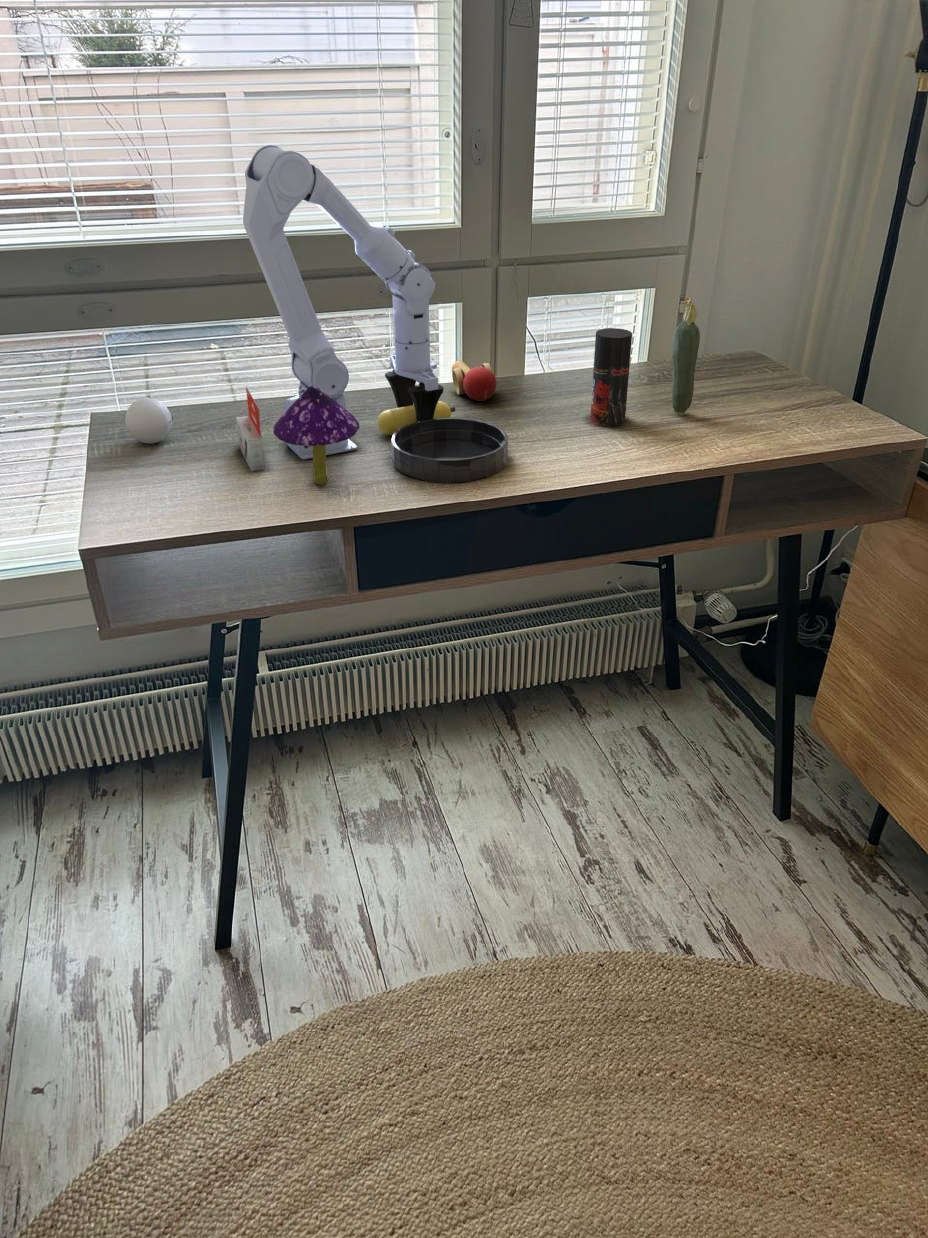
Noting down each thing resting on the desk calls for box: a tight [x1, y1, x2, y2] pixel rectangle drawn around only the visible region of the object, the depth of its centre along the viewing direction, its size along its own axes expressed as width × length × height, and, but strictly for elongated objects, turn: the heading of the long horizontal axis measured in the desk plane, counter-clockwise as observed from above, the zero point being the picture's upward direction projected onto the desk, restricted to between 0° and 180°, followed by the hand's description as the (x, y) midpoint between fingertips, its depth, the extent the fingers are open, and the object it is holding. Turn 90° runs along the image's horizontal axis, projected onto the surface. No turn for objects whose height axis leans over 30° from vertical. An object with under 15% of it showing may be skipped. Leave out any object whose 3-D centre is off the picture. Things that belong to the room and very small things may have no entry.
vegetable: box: [671, 296, 701, 416], centre depth 161 cm, size 4×4×20 cm
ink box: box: [235, 387, 266, 472], centre depth 149 cm, size 2×11×10 cm, turn 21°
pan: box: [390, 417, 509, 484], centre depth 149 cm, size 18×18×4 cm
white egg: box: [124, 397, 174, 445], centre depth 157 cm, size 10×7×7 cm
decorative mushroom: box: [272, 386, 361, 486], centre depth 139 cm, size 12×12×15 cm
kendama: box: [451, 360, 497, 402], centre depth 178 cm, size 8×6×18 cm
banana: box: [377, 400, 456, 436], centre depth 161 cm, size 14×4×4 cm, turn 118°
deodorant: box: [589, 327, 633, 428], centre depth 161 cm, size 6×6×15 cm
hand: (415, 420), depth 161 cm, fingers open, 7 cm apart
